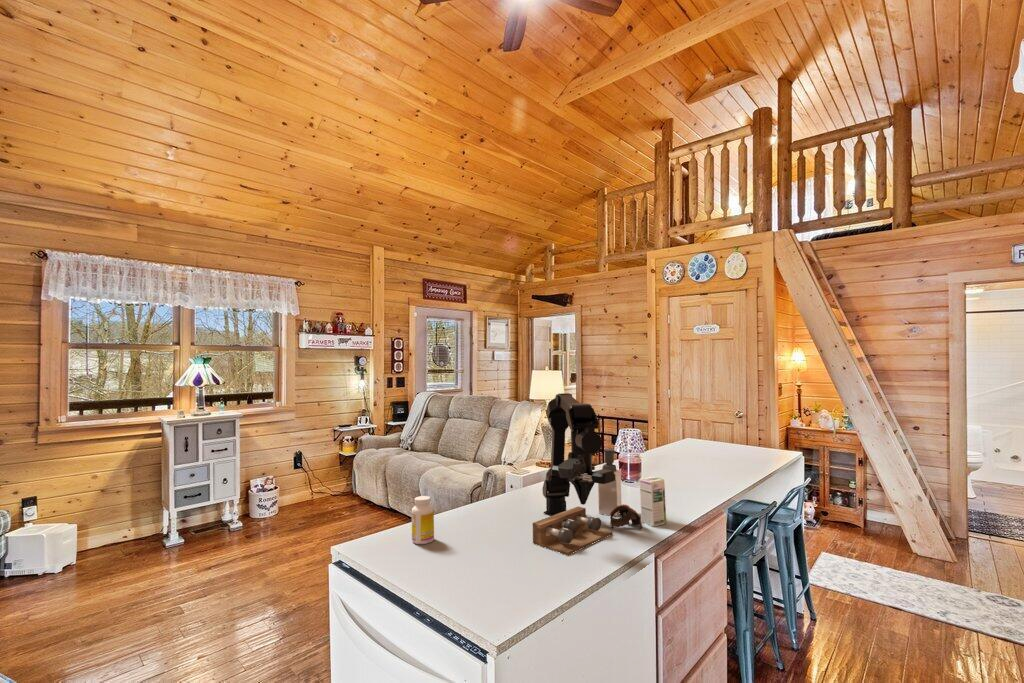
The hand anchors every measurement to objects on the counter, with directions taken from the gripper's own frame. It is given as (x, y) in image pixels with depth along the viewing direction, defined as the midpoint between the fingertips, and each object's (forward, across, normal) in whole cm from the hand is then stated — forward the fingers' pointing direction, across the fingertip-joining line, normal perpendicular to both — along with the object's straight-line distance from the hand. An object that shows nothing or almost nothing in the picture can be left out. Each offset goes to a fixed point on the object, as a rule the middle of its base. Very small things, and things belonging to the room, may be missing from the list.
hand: (583, 504), depth 134 cm
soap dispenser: (+12, -14, +36) cm, 40 cm away
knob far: (+11, -8, +12) cm, 18 cm away
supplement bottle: (+13, -41, -26) cm, 50 cm away
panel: (+13, -8, +6) cm, 16 cm away
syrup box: (+13, +3, +34) cm, 37 cm away
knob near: (+11, -8, -2) cm, 14 cm away
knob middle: (+11, -12, +5) cm, 17 cm away
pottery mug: (+13, -2, +25) cm, 28 cm away
